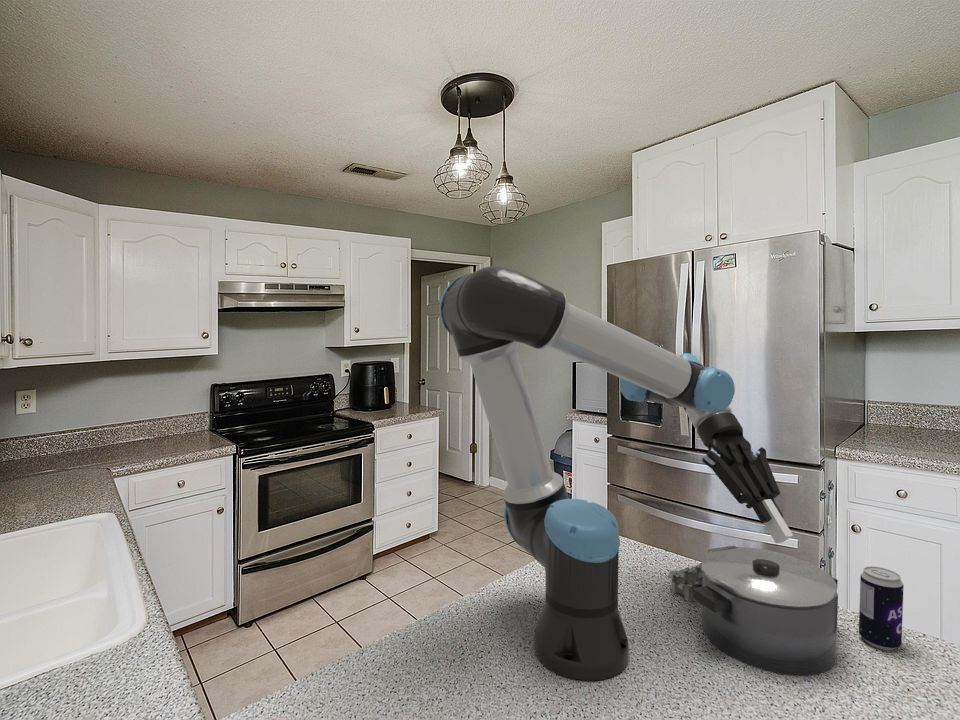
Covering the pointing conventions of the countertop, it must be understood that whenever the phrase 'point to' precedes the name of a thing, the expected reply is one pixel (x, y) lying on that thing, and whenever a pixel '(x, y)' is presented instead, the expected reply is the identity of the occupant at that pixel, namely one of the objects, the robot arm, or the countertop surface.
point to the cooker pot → (769, 632)
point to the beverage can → (881, 608)
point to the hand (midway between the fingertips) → (784, 539)
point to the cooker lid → (769, 577)
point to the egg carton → (686, 581)
